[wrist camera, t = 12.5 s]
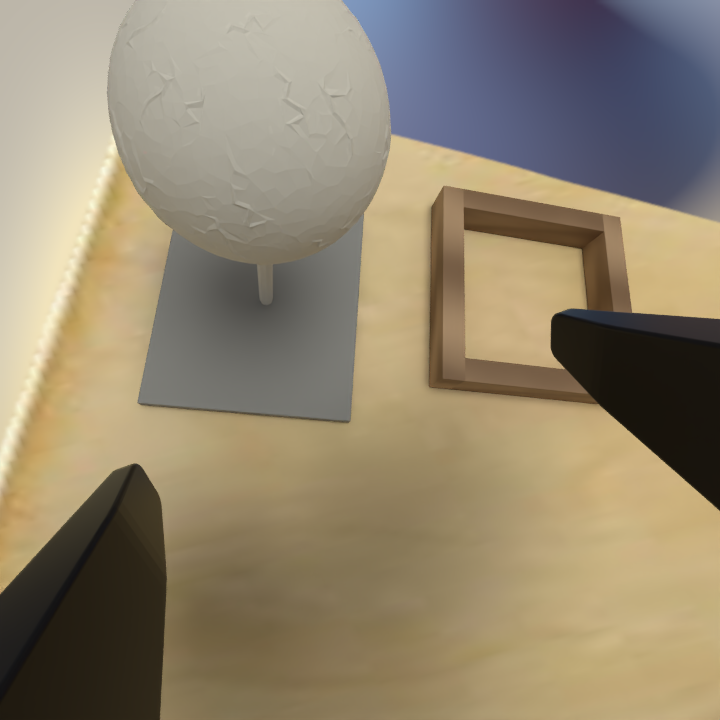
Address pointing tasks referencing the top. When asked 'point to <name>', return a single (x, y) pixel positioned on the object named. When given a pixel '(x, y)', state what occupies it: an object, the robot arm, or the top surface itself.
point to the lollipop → (250, 123)
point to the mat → (256, 334)
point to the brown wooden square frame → (527, 222)
